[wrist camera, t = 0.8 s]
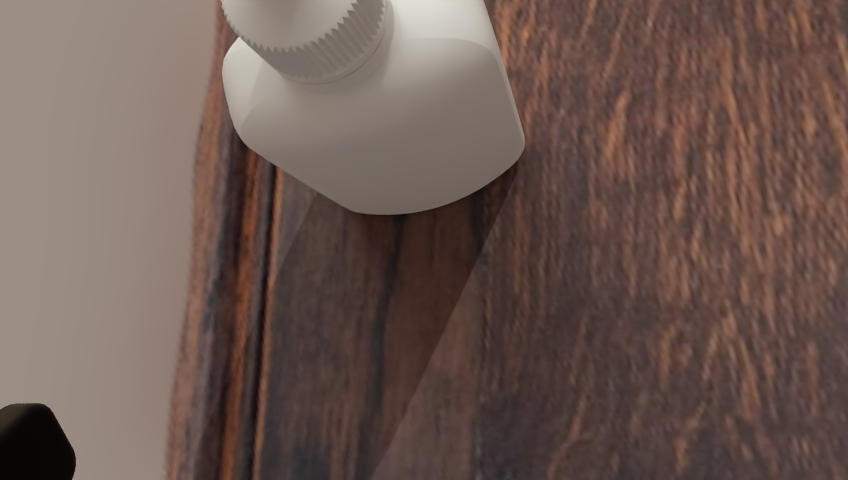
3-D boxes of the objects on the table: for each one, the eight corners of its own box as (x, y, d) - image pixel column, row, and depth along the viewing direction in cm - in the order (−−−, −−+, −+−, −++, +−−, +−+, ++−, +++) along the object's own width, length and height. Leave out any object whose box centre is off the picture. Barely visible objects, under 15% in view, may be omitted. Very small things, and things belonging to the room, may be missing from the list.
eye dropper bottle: (355, 67, 23) (118, -225, 11) (538, 96, 22) (482, -203, 10) (320, 207, 23) (37, 50, 11) (505, 245, 21) (407, 112, 10)
